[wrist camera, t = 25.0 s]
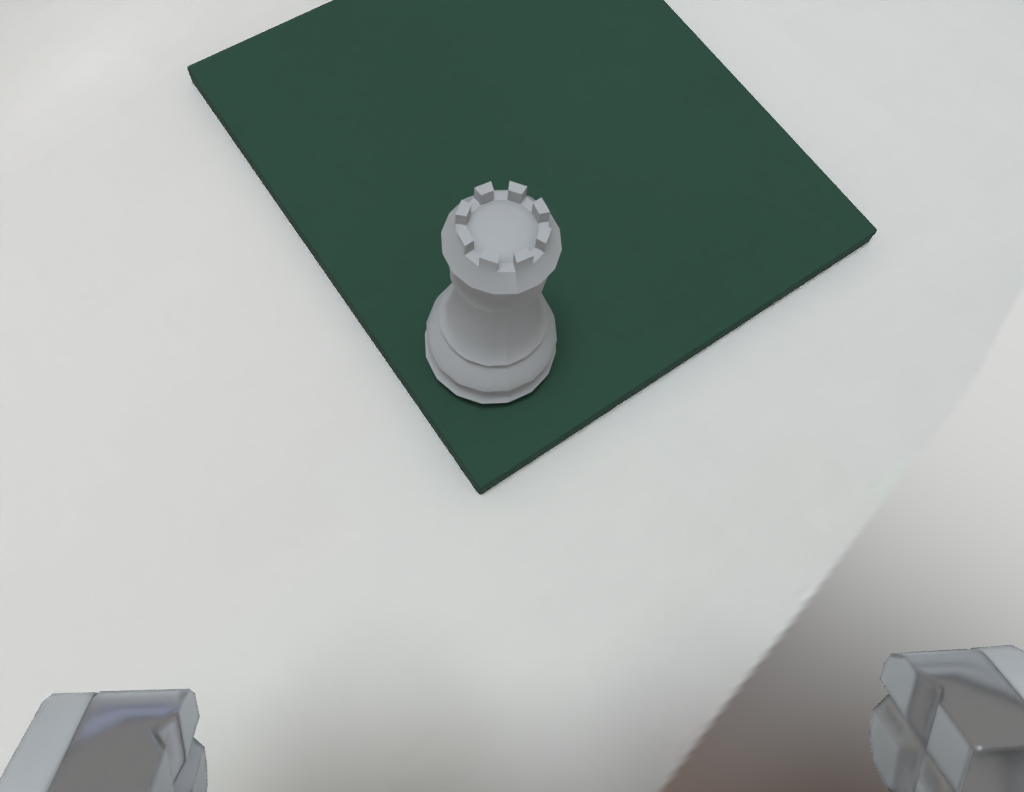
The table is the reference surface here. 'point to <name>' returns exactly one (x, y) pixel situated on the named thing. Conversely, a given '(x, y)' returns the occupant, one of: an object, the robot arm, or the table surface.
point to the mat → (531, 186)
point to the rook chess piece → (495, 296)
